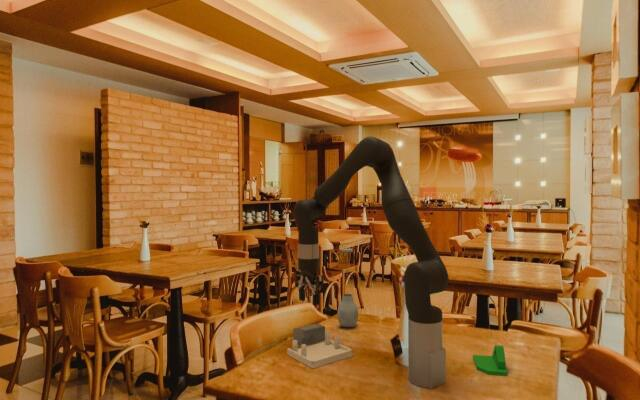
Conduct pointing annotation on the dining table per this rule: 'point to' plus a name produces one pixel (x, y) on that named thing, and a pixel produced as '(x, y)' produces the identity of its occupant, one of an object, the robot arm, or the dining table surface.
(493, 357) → the bracket
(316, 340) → the block
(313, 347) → the tray
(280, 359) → the dining table surface
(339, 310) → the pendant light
